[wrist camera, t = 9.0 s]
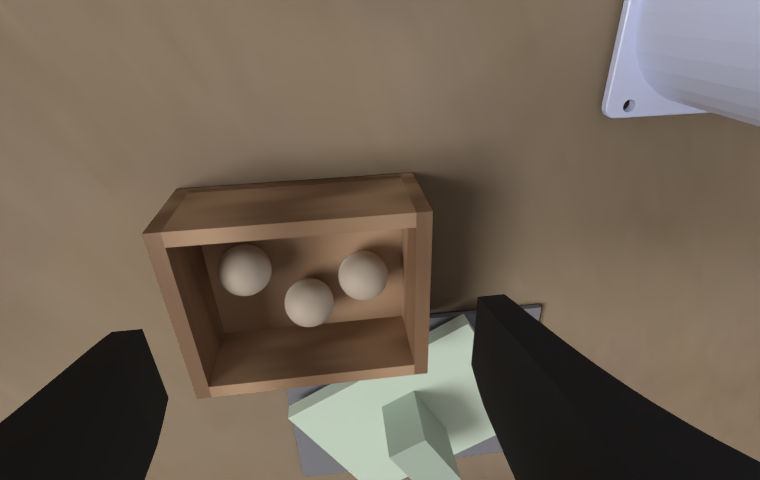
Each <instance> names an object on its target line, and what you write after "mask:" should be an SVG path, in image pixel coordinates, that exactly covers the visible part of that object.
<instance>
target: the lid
mask: <svg viewBox="0 0 760 480" xmlns="http://www.w3.org/2000/svg"><path fill="white" fill-rule="evenodd" d="M473 340H474V329H473V327H472V326H471V324H470V323H469V321H468V320H467V318H466V317H465V315H464V314H462V315H460V316H458V317H456V318H454V319H452V320H451V321H449V322H447V323H445V324H443V325H441V326H439V327H437V328H435V329H434V330H432V331H430V332H429V346H428V373H425V374H416V375H407V376H398V377H389V378H380V379H371V380H362V381H353V382H344V383H335V384H330V385H328V386H326V387H324V388H322V389H320V390H318V391H317V392H315V393H313V394H311V395H309V396H307V397H305V398H303V399H301V400H300V401H298V402H296V403H294V404H292V405H290V406H289V413H288V419H289V420H291V421H292V422H293V423H294V424H295V425H296V426H297V427H299V428H300V429H301V430H302V431H303V432H304V433H305V434H307V435H308V436H309V437H310V438H311V439H312V440H313V441H314V442H316V443H317V444H318V445H319V446H320V447H321V448H322V449H324V450H325V451H326V452H327V453H328V454H329V455H330V456H332V457H333V458H334V459H335V460H336V461H337V462H338V463H340V464H341V465H342V466H343V467H344V468H345V469H346V470H348V471H349V472H350V473H351V474H352V475H353V476H354V477H356V478H357V479H358V480H402V479H404V478H406V477H409V478H410V479H411V480H461V478H460V475H459V471H458V468H457V464H456V461H455V458H454V455H455V454H457V453H459V452H461V451H463V450H465V449H467V448H469V447H472V446H474V445H476V444H478V443H480V442H482V441H484V440H486V439H488V438H491V437H493V436H495V435H496V434H495V432H494V429H493V427H492V425H491V422H490V420H489V418H488V416H487V413H486V411H485V408H484V406H483V403H482V400H481V396H480V393H479V390H478V387H477V383H476V380H475V376H474V373H473V369H472V366H471V360H472V350H473Z"/></svg>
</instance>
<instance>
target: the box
mask: <svg viewBox="0 0 760 480" xmlns="http://www.w3.org/2000/svg"><path fill="white" fill-rule="evenodd" d="M432 228H433V210H432V208H431V206H430V205H429V203H428V201H427V199H426V197H425V195H424V193H423V191H422V189H421V187H420V186H419V184H418V182H417V180H416V178H415V176H414V174H413V173H400V174H385V175H371V176H356V177H342V178H327V179H313V180H298V181H284V182H269V183H255V184H241V185H226V186H212V187H197V188H183V189H176V190H175V191H174V193H173V194H172V195H171V197H170V198H169V199H168V200H167V202H166V203H165V204H164V206H163V207H162V208H161V210H160V211H159V212H158V214H157V215H156V216H155V217H154V219H153V220H152V221H151V223H150V224H149V225H148V227H147V228H146V229H145V231H144V232H143V233H142V236H143V239H144V242H145V245H146V248H147V251H148V253H149V256H150V259H151V262H152V265H153V268H154V271H155V274H156V277H157V280H158V283H159V286H160V289H161V292H162V295H163V298H164V301H165V304H166V307H167V310H168V313H169V316H170V319H171V322H172V325H173V328H174V331H175V334H176V337H177V340H178V343H179V346H180V349H181V352H182V355H183V358H184V361H185V364H186V367H187V370H188V373H189V376H190V379H191V382H192V385H193V387H194V390H195V393H196V396H197V399H199V398H208V397H217V396H227V395H236V394H245V393H254V392H263V391H272V390H281V389H290V388H299V387H308V386H317V385H326V384H335V383H344V382H353V381H362V380H371V379H380V378H389V377H398V376H407V375H416V374H425V373H428V346H429V316H430V287H431V257H432Z"/></svg>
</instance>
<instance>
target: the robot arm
mask: <svg viewBox="0 0 760 480" xmlns="http://www.w3.org/2000/svg"><path fill="white" fill-rule="evenodd" d="M627 100H629V105H628V107H627V108H626V109H624V110H623V105H624V103H625V102H626V101H627ZM602 112H603V114H604V115H606V116H607V117H610V118H629V117H645V116H662V115H678V114H695V113H714V114H717V115H721V116H724V117H728V118H731V119H735V120H738V121H742V122H745V123H748V124H752V125H755V126H759V127H760V0H624V4H623V9H622V13H621V18H620V23H619V27H618V32H617V37H616V41H615V46H614V51H613V55H612V60H611V65H610V69H609V74H608V79H607V83H606V88H605V93H604V97H603V102H602ZM471 366H472V369H473V373H474V376H475V380H476V383H477V387H478V390H479V393H480V396H481V400H482V403H483V406H484V408H485V411H486V413H487V416H488V418H489V420H490V422H491V425H492V427H493V429H494V432H495V434H496V436H497V439H498V441H499V443H500V445H501V448H502V450H503V452H504V455H505V457H506V459H507V461H508V464H509V466H510V468H511V470H512V473H513V475H514V477H515V480H760V462H759V461H757V460H755V459H753V458H751V457H749V456H747V455H745V454H743V453H741V452H740V451H738V450H736V449H734V448H732V447H730V446H728V445H726V444H724V443H722V442H720V441H719V440H717V439H715V438H713V437H711V436H709V435H708V434H706V433H704V432H702V431H700V430H699V429H697V428H695V427H693V426H692V425H690V424H688V423H687V422H685V421H683V420H681V419H680V418H678V417H676V416H675V415H673V414H671V413H670V412H668V411H666V410H665V409H663V408H661V407H660V406H658V405H656V404H655V403H653V402H651V401H650V400H648V399H647V398H645V397H643V396H642V395H640V394H639V393H637V392H636V391H634V390H632V389H631V388H630V387H628V386H627V385H625V384H624V383H622V382H621V381H619V380H618V379H616V378H615V377H613V376H612V375H610V374H609V373H607V372H606V371H604V370H603V369H602V368H600V367H599V366H597V365H596V364H595V363H593V362H592V361H590V360H589V359H588V358H586V357H585V356H583V355H582V354H581V353H579V352H578V351H577V350H575V349H574V348H573V347H571V346H570V345H569V344H567V343H566V342H565V341H563V340H562V339H561V338H559V337H558V336H557V335H556V334H554V333H553V332H552V331H550V330H549V329H548V328H547V327H545V326H544V325H543V324H542V323H540V322H539V321H538V320H536V319H535V318H534V317H533V316H531V315H530V314H529V313H528V312H526V311H525V310H524V309H523V308H521V307H520V306H519V305H518V304H516V303H515V302H514V301H512V300H511V299H510V298H508V297H507V296H506V295H504V294H503V295H493V296H483V297H478V300H477V310H476V320H475V330H474V340H473V350H472V360H471ZM167 402H168V395H167V393H166V390H165V388H164V385H163V382H162V380H161V377H160V374H159V372H158V369H157V367H156V364H155V361H154V359H153V356H152V353H151V351H150V348H149V346H148V343H147V340H146V338H145V335H144V332H143V330H142V329H139V330H128V331H118V332H111V333H110V334H109V335H107V336H106V337H105V338H103V339H102V340H101V341H99V342H98V343H97V344H96V345H94V346H93V347H92V348H91V349H89V350H88V351H87V352H86V353H85V354H83V355H82V356H81V357H80V358H78V359H77V360H76V361H75V362H74V363H72V364H71V365H70V366H69V367H68V368H67V369H65V370H64V371H63V372H62V373H61V374H59V375H58V376H57V377H56V378H55V379H53V380H52V381H51V382H50V383H49V384H47V385H46V386H45V387H44V388H42V389H41V390H40V391H39V392H38V393H36V394H35V395H34V396H33V397H32V398H30V399H29V400H28V401H27V402H25V403H24V404H23V405H22V406H21V407H19V408H18V409H17V410H16V411H15V412H13V413H12V414H11V415H10V416H8V417H7V418H6V419H5V420H3V421H2V422H1V423H0V480H145V477H146V474H147V471H148V469H149V466H150V463H151V461H152V458H153V455H154V453H155V450H156V447H157V444H158V440H159V436H160V432H161V428H162V424H163V420H164V415H165V411H166V406H167Z"/></svg>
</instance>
